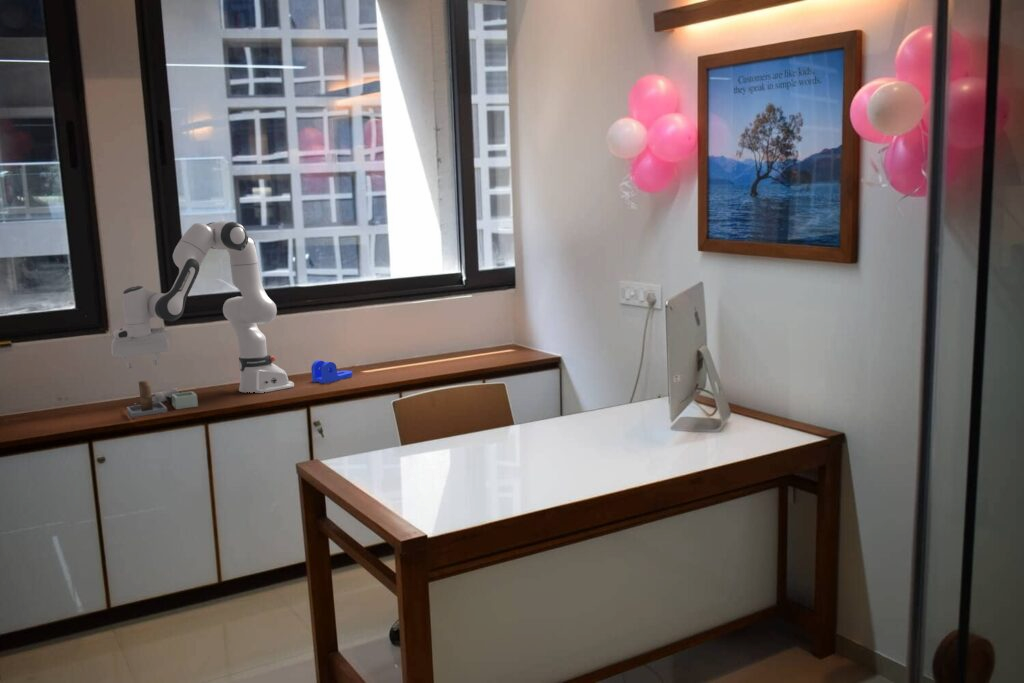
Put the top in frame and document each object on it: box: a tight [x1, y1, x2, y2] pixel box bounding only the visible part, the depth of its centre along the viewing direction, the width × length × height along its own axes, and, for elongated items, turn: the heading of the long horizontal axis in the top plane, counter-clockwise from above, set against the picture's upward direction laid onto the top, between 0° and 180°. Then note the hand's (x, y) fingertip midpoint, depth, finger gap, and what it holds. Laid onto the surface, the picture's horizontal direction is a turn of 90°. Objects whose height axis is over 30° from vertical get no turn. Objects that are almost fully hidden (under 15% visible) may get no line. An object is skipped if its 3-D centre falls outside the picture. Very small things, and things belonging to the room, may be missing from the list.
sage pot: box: [171, 390, 199, 410], centre depth 359 cm, size 8×8×6 cm
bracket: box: [311, 359, 354, 384], centre depth 404 cm, size 18×8×9 cm, turn 142°
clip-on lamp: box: [134, 387, 182, 406], centre depth 365 cm, size 12×6×18 cm
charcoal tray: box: [126, 402, 168, 421], centre depth 352 cm, size 13×13×2 cm
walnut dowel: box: [138, 380, 153, 411], centre depth 351 cm, size 4×4×12 cm
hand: (142, 366), depth 350 cm, fingers open, 8 cm apart
